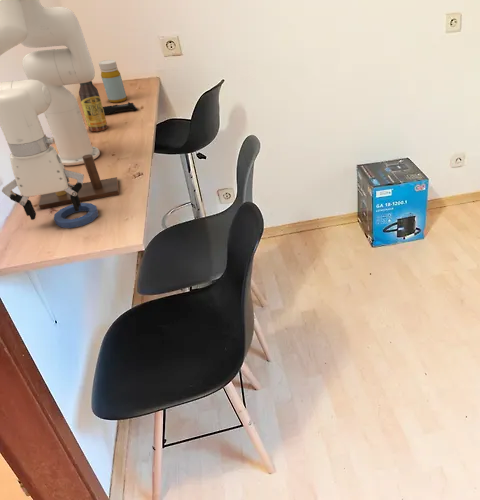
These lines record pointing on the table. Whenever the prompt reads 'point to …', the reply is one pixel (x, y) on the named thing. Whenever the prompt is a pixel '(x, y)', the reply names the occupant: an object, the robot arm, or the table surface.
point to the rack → (84, 188)
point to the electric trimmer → (119, 108)
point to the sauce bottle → (92, 107)
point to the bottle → (112, 81)
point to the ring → (75, 222)
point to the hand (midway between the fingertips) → (55, 213)
